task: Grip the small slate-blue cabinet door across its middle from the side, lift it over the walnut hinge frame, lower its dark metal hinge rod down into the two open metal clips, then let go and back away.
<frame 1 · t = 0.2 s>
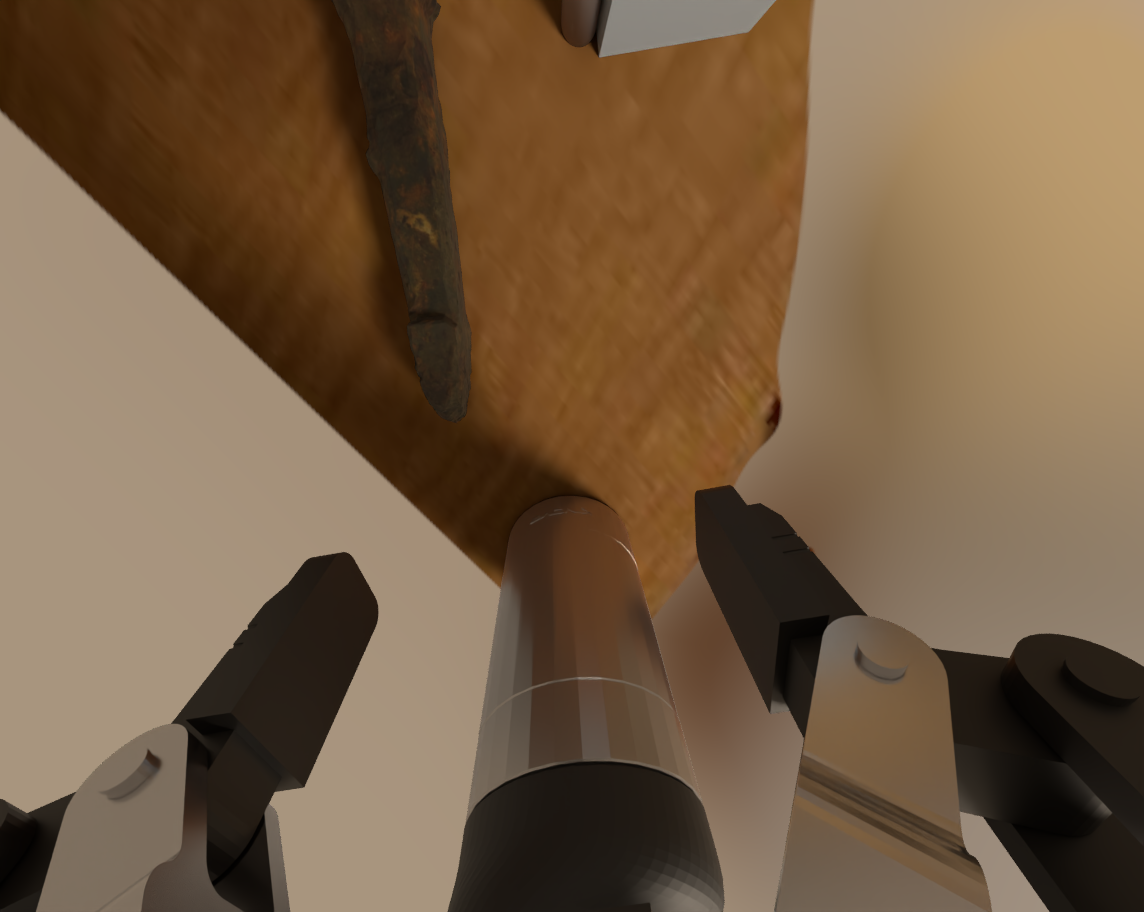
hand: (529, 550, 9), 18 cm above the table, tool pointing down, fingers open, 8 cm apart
cabinet door: (672, 9, 18), on the table
hand tool: (447, 244, 22), on the table
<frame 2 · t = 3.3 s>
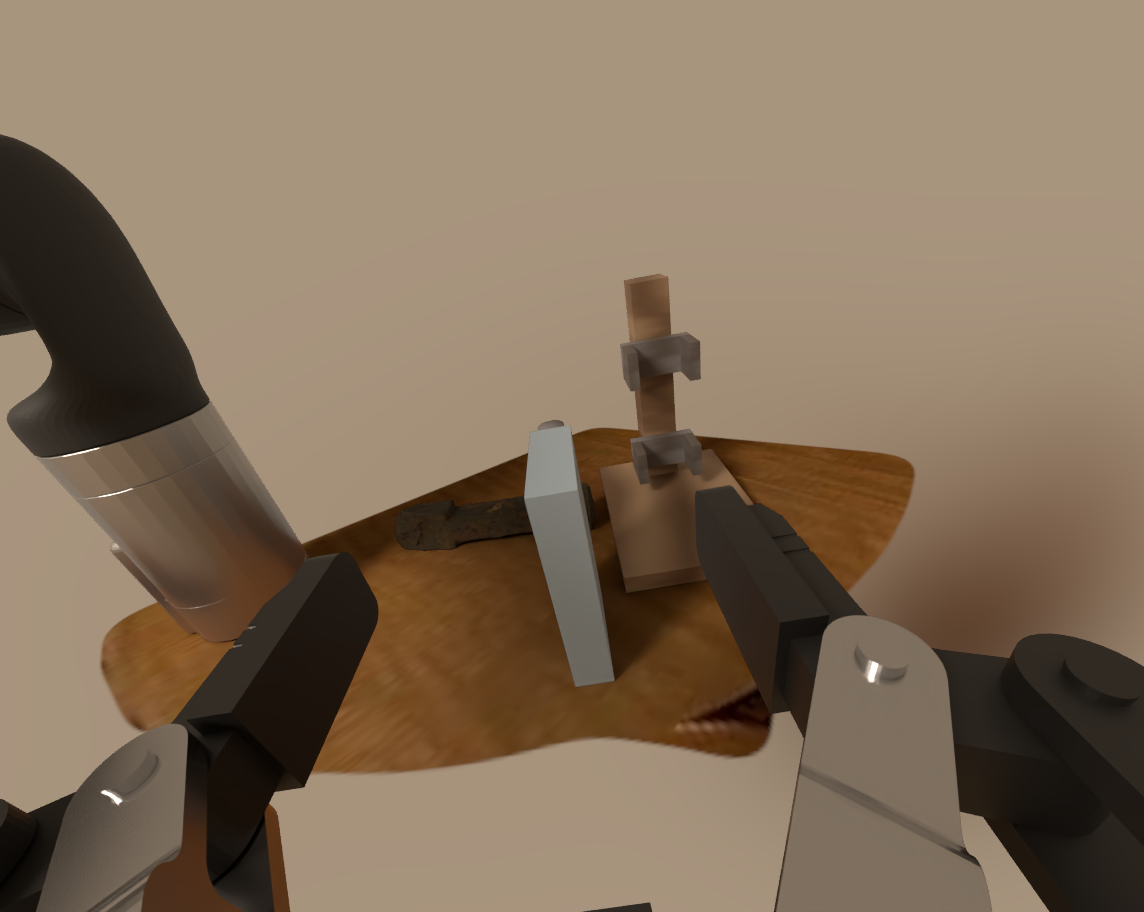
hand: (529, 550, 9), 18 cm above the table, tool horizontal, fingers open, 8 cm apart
cabinet door: (589, 634, 28), on the table
hinge frame: (683, 528, 35), on the table
hand tool: (499, 541, 39), on the table
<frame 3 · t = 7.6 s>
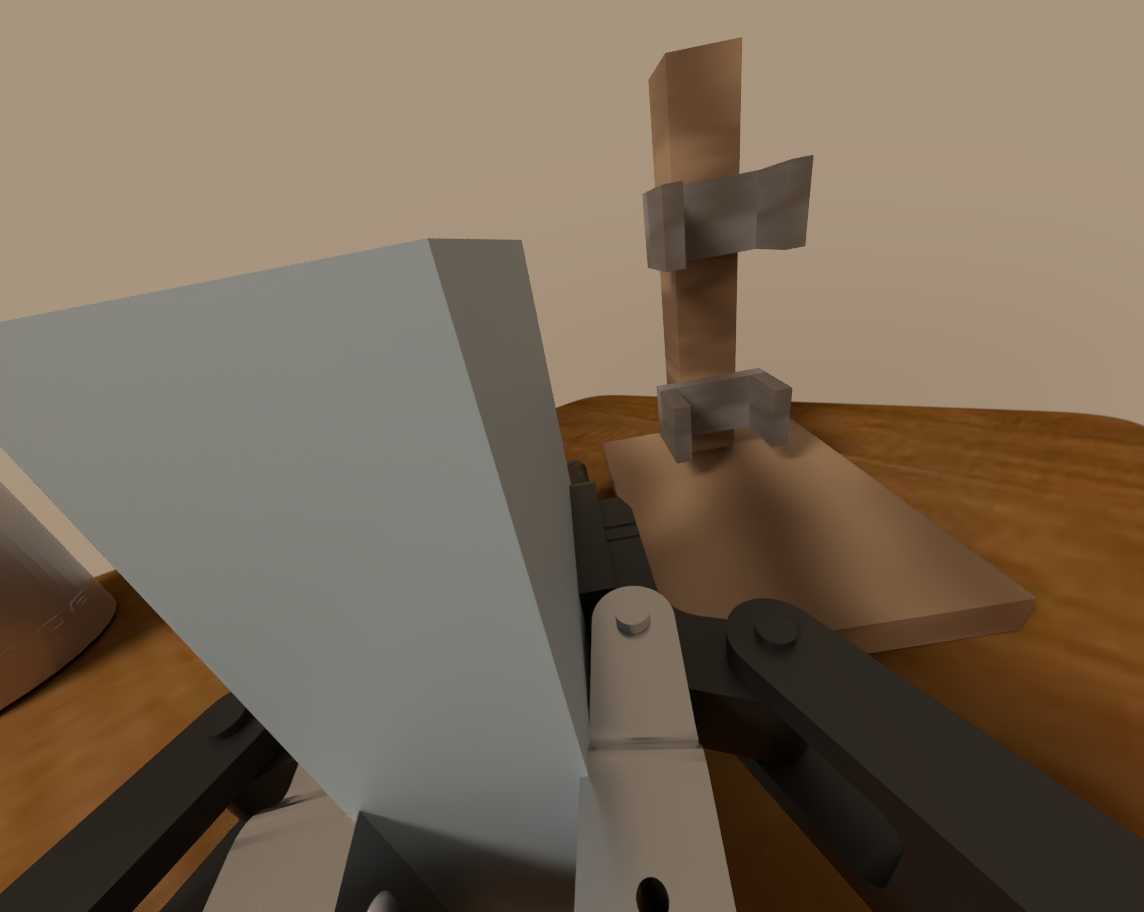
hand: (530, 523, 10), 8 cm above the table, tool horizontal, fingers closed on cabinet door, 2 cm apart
cabinet door: (585, 804, 11), on the table, touching gripper
hinge frame: (758, 542, 19), on the table
hand tool: (429, 572, 22), on the table
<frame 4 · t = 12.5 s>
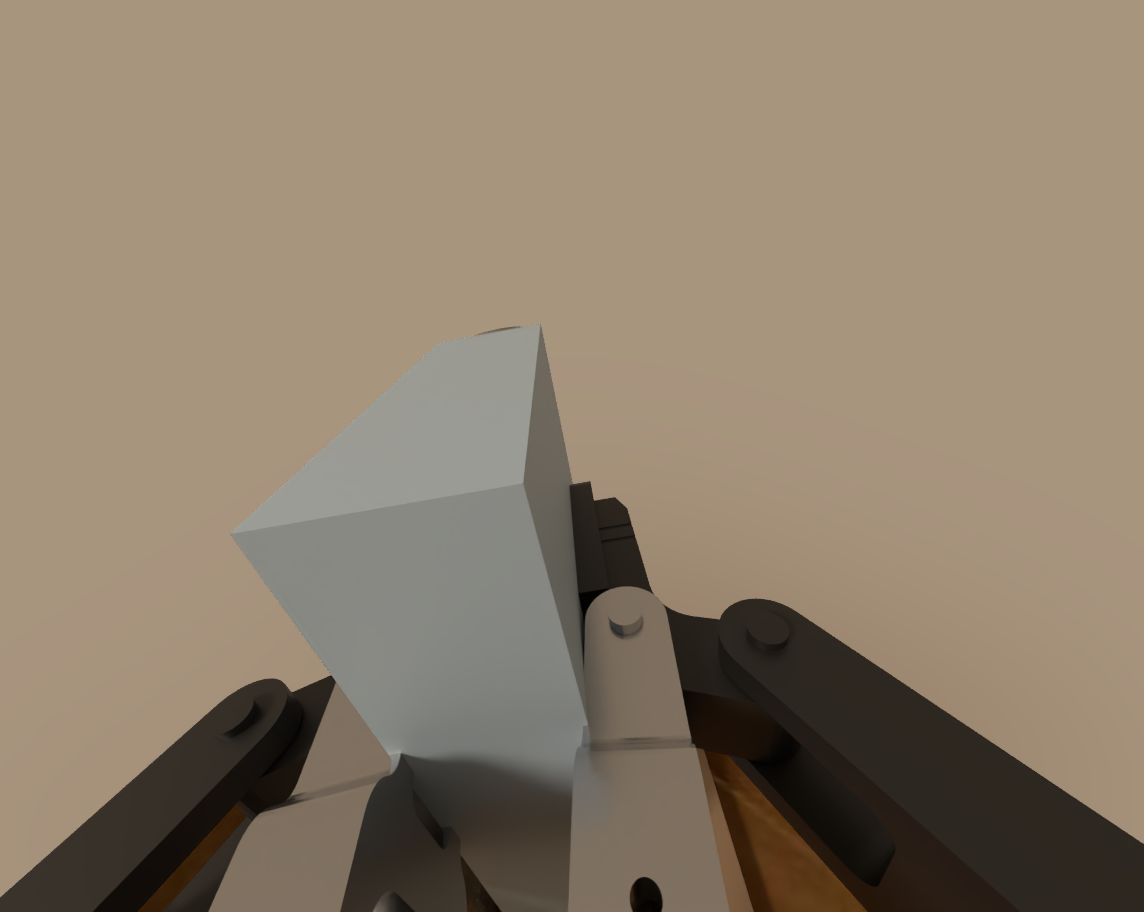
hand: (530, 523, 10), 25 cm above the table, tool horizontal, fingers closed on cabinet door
cabinet door: (591, 802, 13), point 16 cm above the table, touching gripper
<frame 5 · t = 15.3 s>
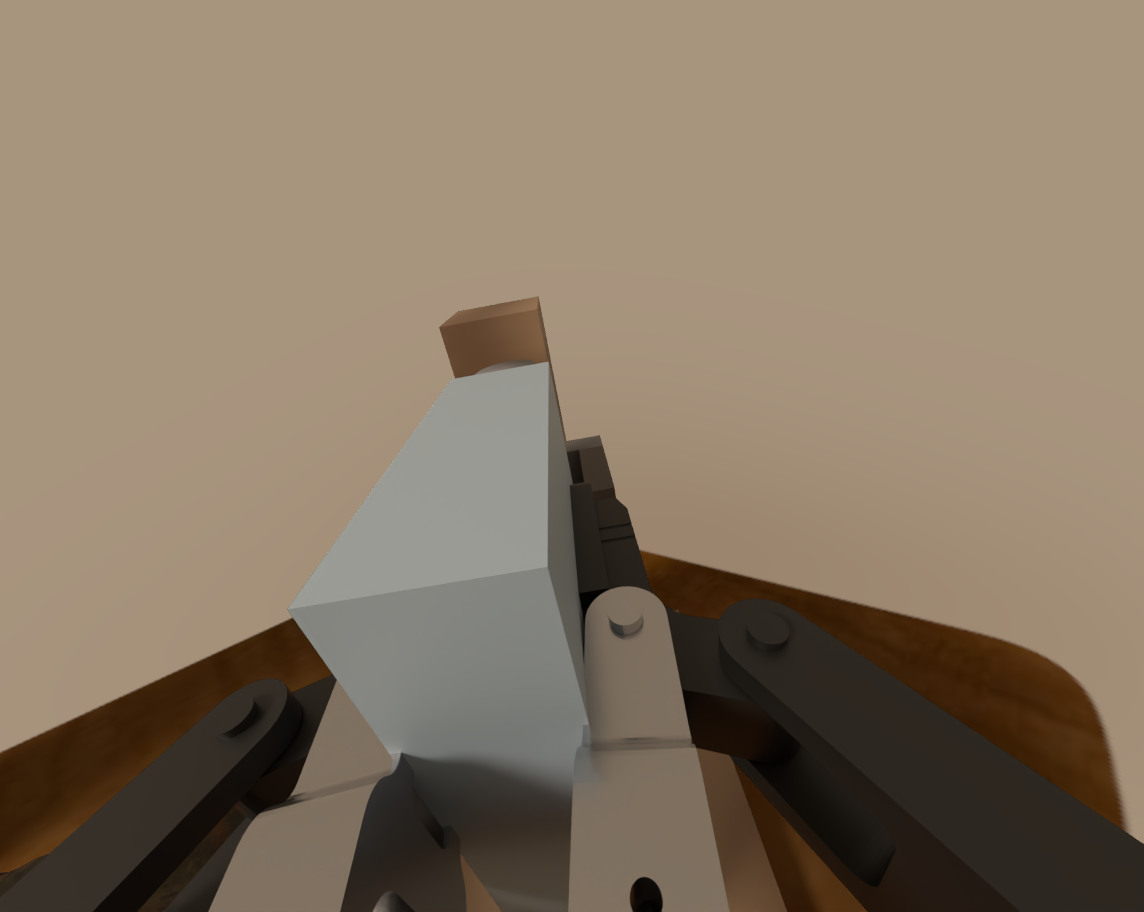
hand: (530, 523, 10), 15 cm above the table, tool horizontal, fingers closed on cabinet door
cabinet door: (595, 816, 13), point 5 cm above the table, touching gripper
hinge frame: (599, 872, 16), on the table
hand tool: (216, 897, 17), on the table
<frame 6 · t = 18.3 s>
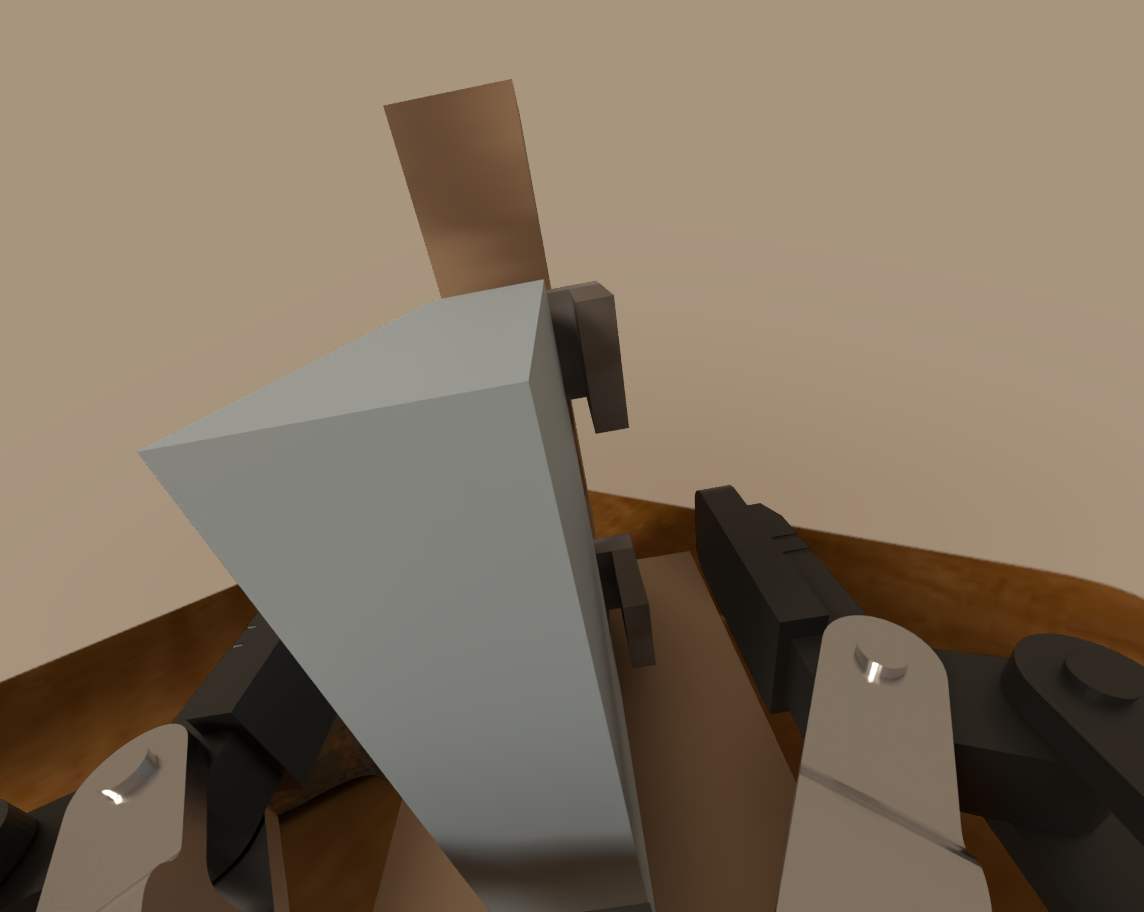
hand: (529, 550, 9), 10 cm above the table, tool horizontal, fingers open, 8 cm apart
cabinet door: (597, 803, 12), point 1 cm above the table, touching hinge frame
hinge frame: (597, 839, 12), on the table
hand tool: (127, 891, 14), on the table
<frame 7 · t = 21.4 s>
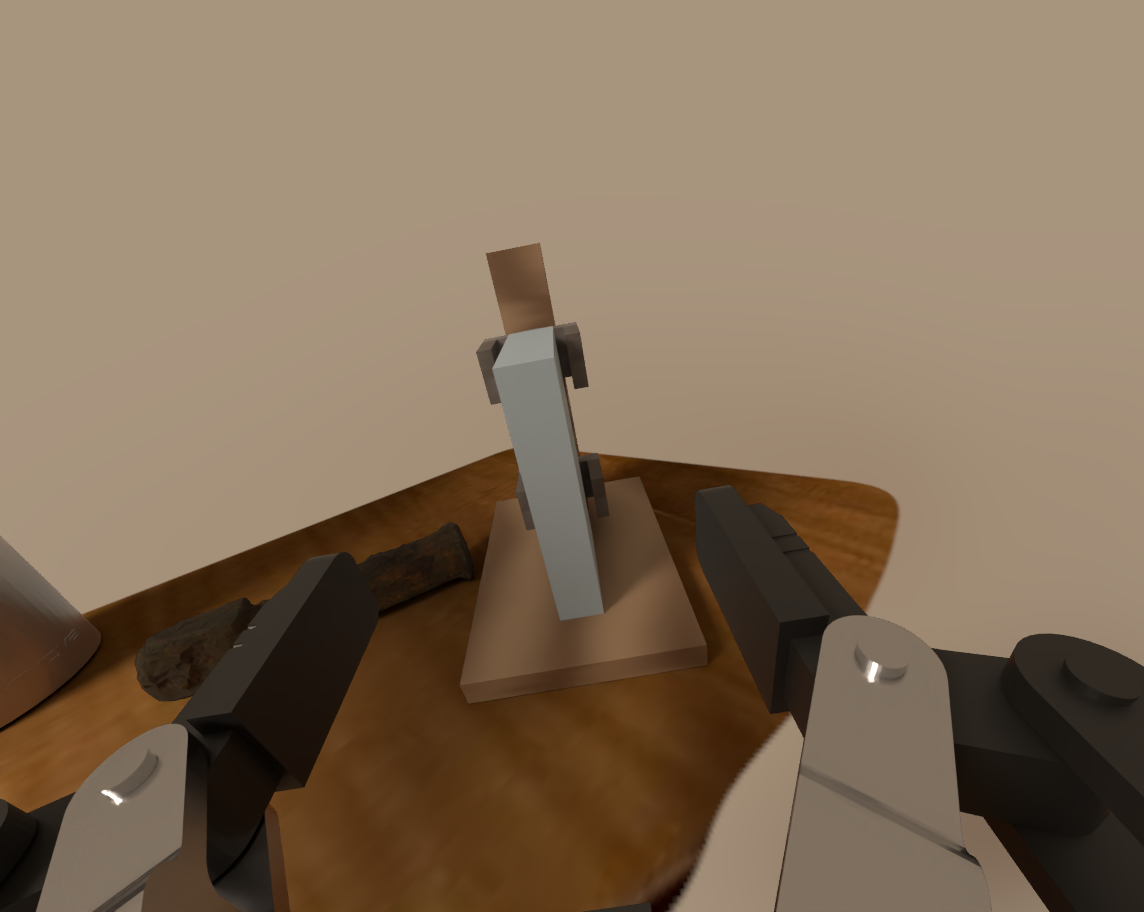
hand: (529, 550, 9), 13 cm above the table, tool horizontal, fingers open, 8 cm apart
cabinet door: (578, 571, 25), point 1 cm above the table, touching hinge frame
hinge frame: (578, 593, 25), on the table
hand tool: (338, 636, 26), on the table
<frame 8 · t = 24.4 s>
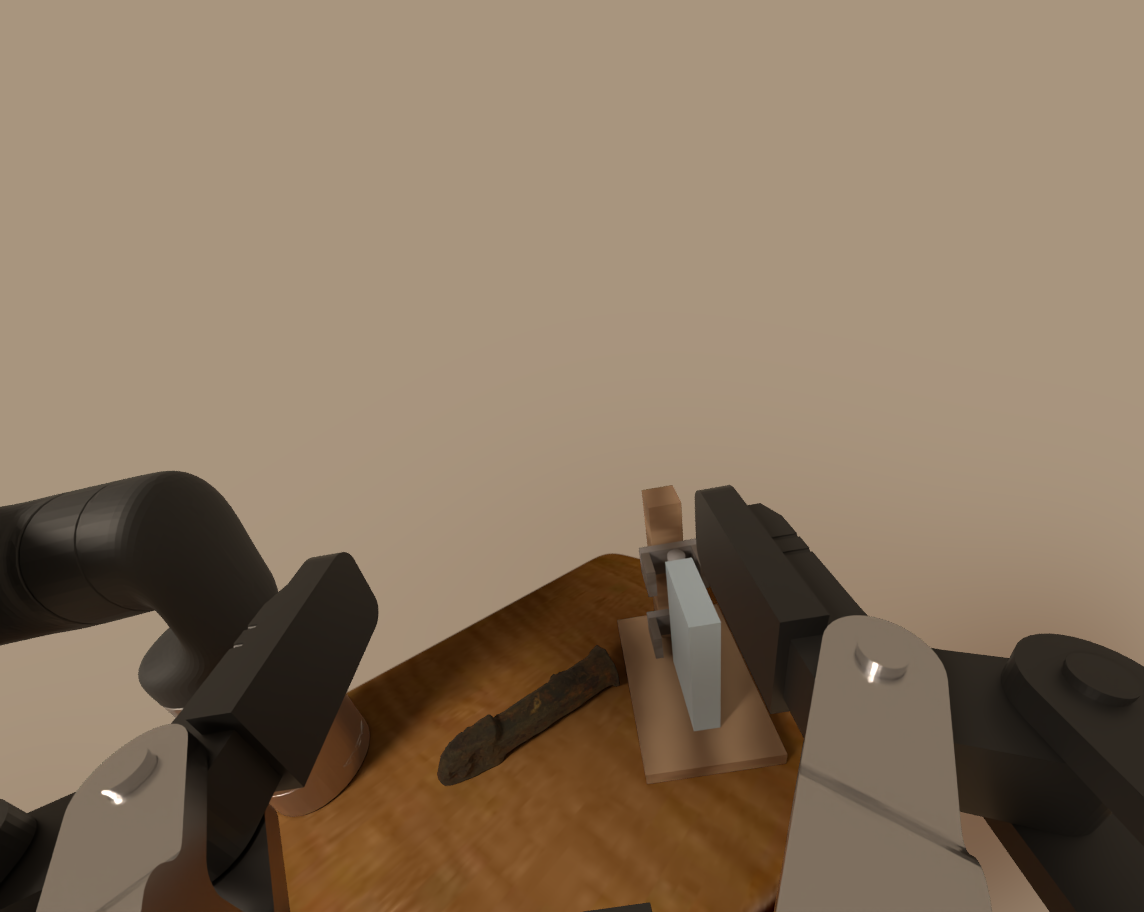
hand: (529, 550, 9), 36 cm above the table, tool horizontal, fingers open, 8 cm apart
cabinet door: (695, 691, 40), point 1 cm above the table, touching hinge frame
hinge frame: (694, 703, 40), on the table
hand tool: (539, 731, 41), on the table
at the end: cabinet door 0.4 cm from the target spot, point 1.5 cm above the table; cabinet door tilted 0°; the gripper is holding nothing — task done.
